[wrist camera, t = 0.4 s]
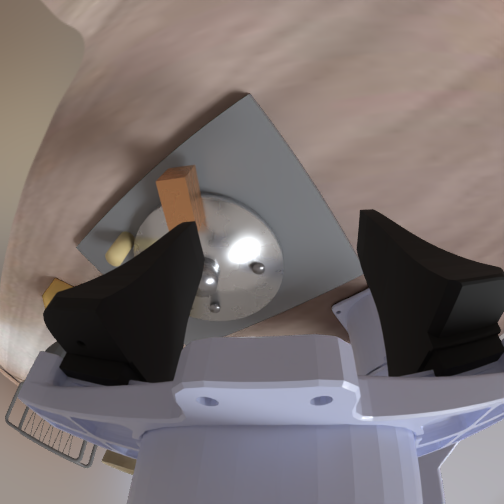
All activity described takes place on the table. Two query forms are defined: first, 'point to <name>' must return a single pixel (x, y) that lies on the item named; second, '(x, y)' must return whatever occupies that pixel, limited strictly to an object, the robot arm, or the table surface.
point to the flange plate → (218, 246)
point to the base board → (251, 194)
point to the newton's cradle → (76, 461)
